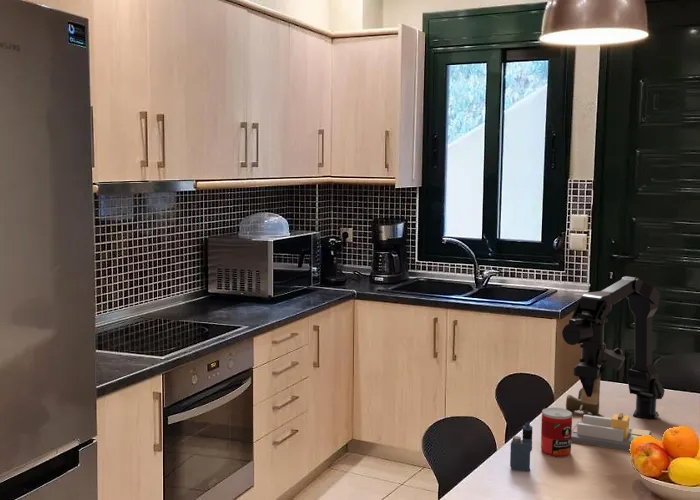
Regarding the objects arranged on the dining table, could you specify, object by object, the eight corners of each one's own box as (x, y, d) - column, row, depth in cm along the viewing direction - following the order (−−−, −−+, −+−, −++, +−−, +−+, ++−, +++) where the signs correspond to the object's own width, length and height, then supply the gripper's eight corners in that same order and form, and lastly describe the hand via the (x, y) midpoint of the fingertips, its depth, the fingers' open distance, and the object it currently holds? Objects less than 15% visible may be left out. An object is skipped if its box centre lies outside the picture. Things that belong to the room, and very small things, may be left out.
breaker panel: (578, 426, 233) (578, 411, 232) (651, 437, 223) (652, 421, 223) (567, 441, 220) (568, 425, 220) (644, 453, 211) (645, 437, 211)
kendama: (602, 404, 255) (597, 421, 237) (571, 402, 259) (563, 418, 240) (602, 386, 255) (597, 401, 236) (571, 383, 259) (563, 399, 240)
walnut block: (584, 398, 226) (585, 374, 225) (599, 401, 224) (600, 376, 223) (581, 402, 223) (583, 378, 222) (596, 404, 221) (597, 380, 220)
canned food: (554, 459, 207) (556, 418, 205) (534, 449, 214) (535, 409, 212) (577, 454, 210) (578, 414, 209) (556, 445, 217) (557, 405, 216)
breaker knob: (613, 431, 224) (614, 411, 223) (628, 433, 222) (629, 413, 221) (610, 436, 219) (611, 416, 219) (625, 439, 217) (626, 418, 217)
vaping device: (531, 472, 198) (533, 425, 197) (509, 470, 199) (511, 423, 198) (531, 468, 201) (532, 421, 199) (510, 466, 202) (511, 420, 200)
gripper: (617, 350, 210) (615, 408, 211) (628, 336, 226) (626, 390, 228) (574, 345, 215) (572, 402, 216) (587, 332, 231) (586, 385, 233)
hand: (590, 394), depth 223 cm, fingers closed on walnut block, 4 cm apart
